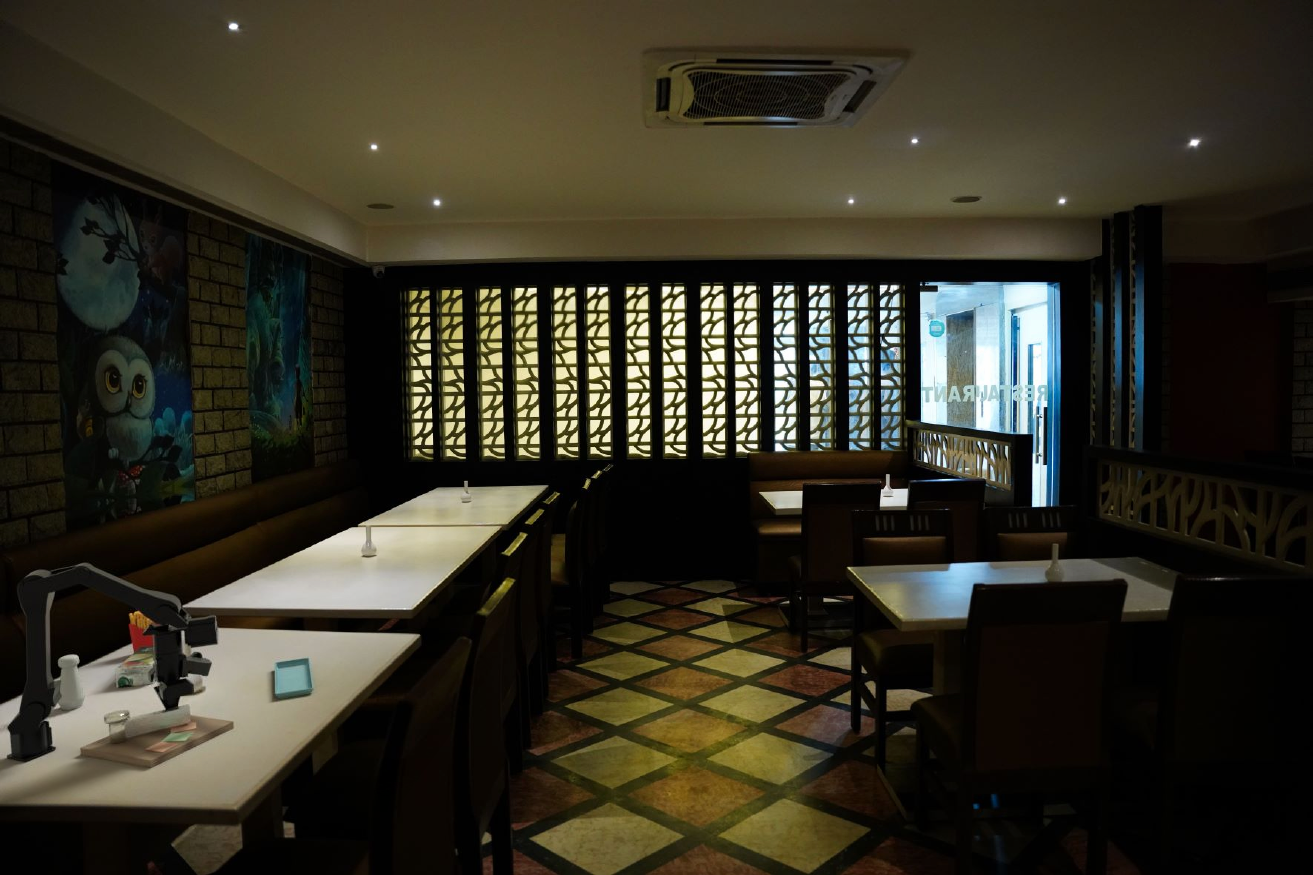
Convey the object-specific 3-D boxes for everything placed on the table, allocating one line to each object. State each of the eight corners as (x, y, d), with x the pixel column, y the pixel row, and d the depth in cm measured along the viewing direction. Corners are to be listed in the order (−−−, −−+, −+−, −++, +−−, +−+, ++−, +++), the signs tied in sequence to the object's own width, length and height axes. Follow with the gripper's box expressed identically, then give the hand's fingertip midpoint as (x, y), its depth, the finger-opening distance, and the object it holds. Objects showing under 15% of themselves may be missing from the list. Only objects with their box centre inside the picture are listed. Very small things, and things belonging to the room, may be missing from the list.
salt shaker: (71, 712, 206) (67, 660, 205) (51, 710, 207) (47, 659, 206) (91, 703, 211) (87, 652, 211) (72, 702, 213) (68, 652, 212)
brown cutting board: (151, 767, 174) (150, 759, 174) (80, 754, 181) (80, 746, 181) (233, 727, 193) (233, 720, 193) (167, 717, 201) (166, 710, 201)
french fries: (129, 656, 249) (126, 613, 248) (134, 652, 253) (131, 610, 252) (164, 653, 251) (161, 610, 250) (168, 649, 255) (165, 607, 254)
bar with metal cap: (107, 746, 180) (105, 720, 180) (104, 739, 184) (102, 714, 184) (192, 725, 191) (190, 700, 191) (187, 719, 195) (186, 694, 194)
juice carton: (155, 685, 224) (153, 662, 224) (113, 690, 221) (111, 667, 221) (177, 662, 243) (176, 642, 243) (139, 666, 241) (138, 645, 241)
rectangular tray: (314, 695, 214) (314, 686, 214) (275, 701, 210) (274, 692, 210) (310, 665, 238) (309, 657, 238) (274, 670, 234) (274, 662, 234)
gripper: (217, 652, 190) (221, 718, 191) (198, 634, 204) (202, 697, 205) (161, 663, 183) (165, 733, 184) (145, 644, 197) (150, 709, 198)
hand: (172, 716), depth 193 cm, fingers closed
